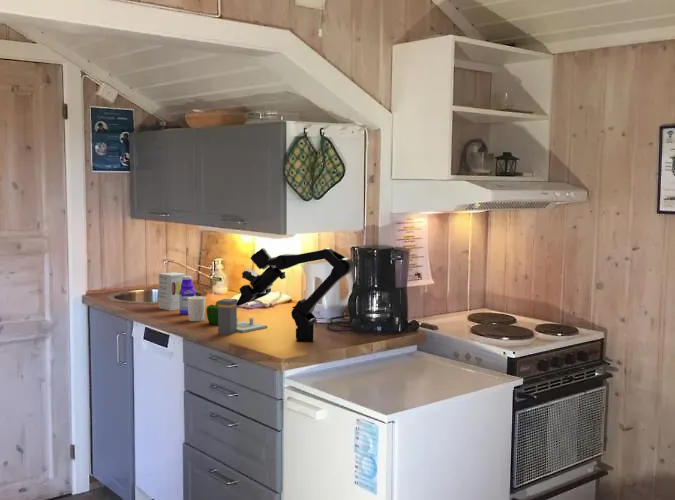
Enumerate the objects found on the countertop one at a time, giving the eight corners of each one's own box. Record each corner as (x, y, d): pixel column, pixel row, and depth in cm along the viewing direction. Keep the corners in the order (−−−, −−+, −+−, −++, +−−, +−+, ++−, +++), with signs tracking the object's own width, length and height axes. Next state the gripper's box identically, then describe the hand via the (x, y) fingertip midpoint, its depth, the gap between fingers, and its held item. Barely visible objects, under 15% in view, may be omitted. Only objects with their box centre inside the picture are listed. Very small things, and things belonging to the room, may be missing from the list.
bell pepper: (208, 326, 314) (208, 302, 313) (204, 322, 322) (204, 299, 321) (228, 324, 317) (228, 301, 316) (223, 321, 325) (223, 298, 324)
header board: (267, 327, 313) (267, 319, 312) (243, 332, 302) (243, 324, 301) (243, 323, 321) (243, 315, 321) (219, 327, 310) (219, 319, 310)
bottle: (180, 315, 336) (180, 277, 335) (178, 313, 341) (178, 275, 340) (196, 314, 339) (196, 276, 338) (193, 312, 344) (193, 275, 343)
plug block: (236, 332, 303) (236, 299, 301) (230, 335, 297) (230, 301, 296) (224, 331, 304) (224, 298, 303) (217, 333, 299) (217, 300, 298)
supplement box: (170, 311, 347) (170, 275, 345) (158, 308, 353) (157, 273, 351) (186, 308, 354) (186, 273, 353) (174, 306, 360) (173, 271, 358)
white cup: (197, 322, 321) (197, 299, 320) (183, 320, 325) (183, 298, 324) (209, 319, 328) (209, 297, 327) (195, 317, 332) (195, 295, 331)
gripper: (264, 260, 303) (239, 285, 308) (244, 265, 285) (218, 291, 290) (281, 280, 301) (256, 305, 306) (262, 287, 284) (236, 313, 288)
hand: (242, 303), depth 298 cm, fingers open, 9 cm apart
